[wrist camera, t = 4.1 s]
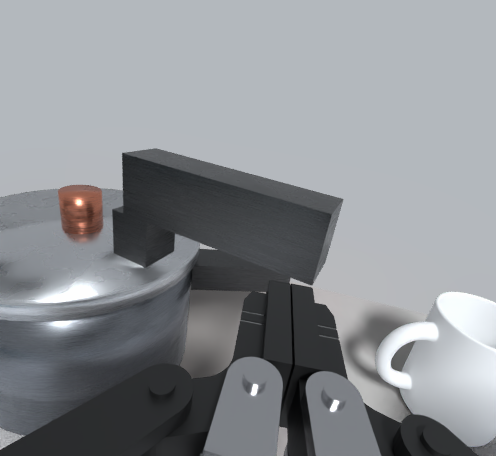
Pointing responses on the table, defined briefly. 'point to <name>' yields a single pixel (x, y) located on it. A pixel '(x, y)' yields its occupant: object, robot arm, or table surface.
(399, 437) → the robot arm
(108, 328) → the cooker pot
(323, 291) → the table surface
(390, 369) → the mug
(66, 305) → the cooker lid
